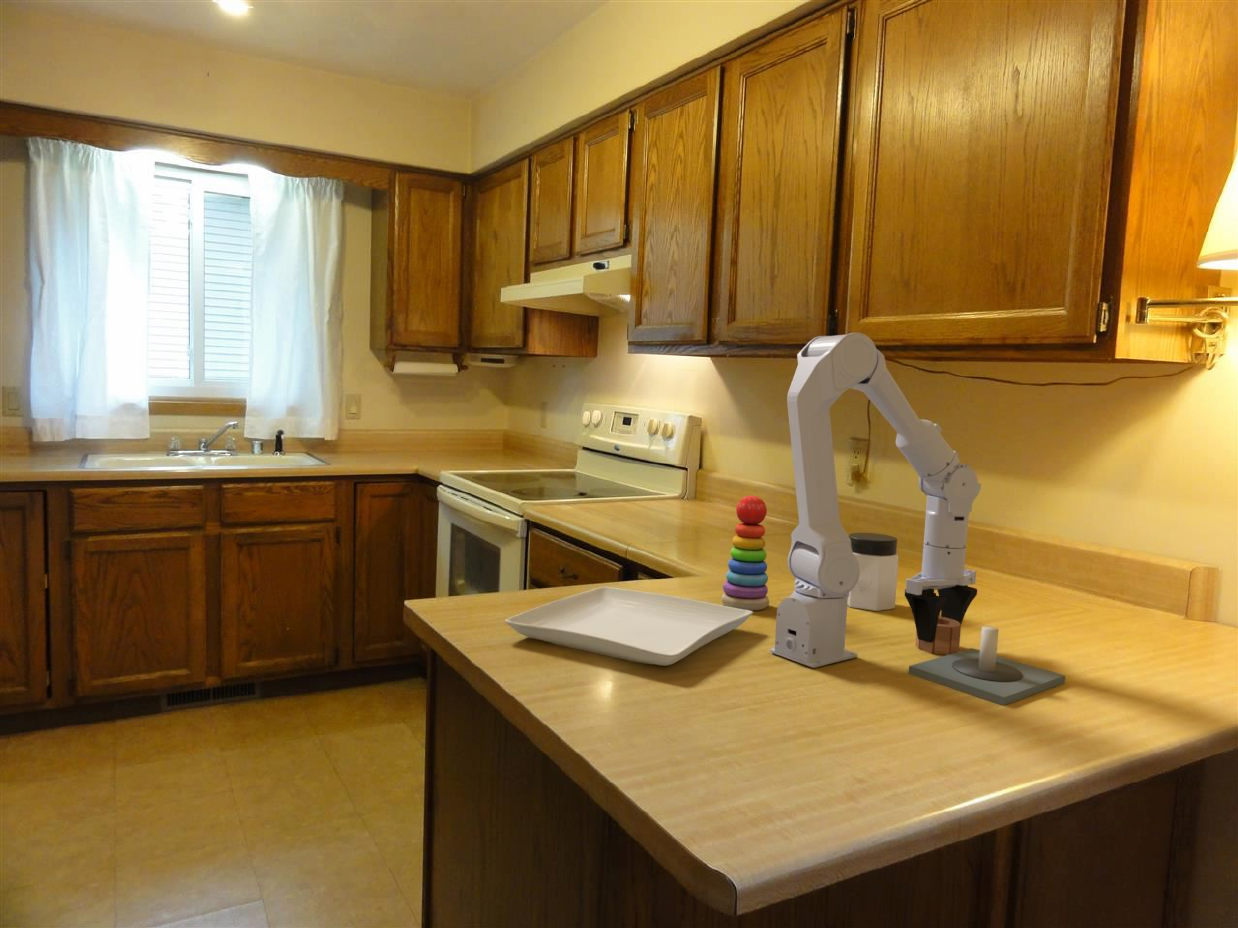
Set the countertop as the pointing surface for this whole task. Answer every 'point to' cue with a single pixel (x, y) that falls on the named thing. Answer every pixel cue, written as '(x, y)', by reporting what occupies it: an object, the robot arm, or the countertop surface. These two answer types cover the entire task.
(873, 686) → the countertop surface
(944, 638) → the collar
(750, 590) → the stacking toy
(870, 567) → the jar
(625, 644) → the square plate
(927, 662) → the post board
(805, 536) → the robot arm
